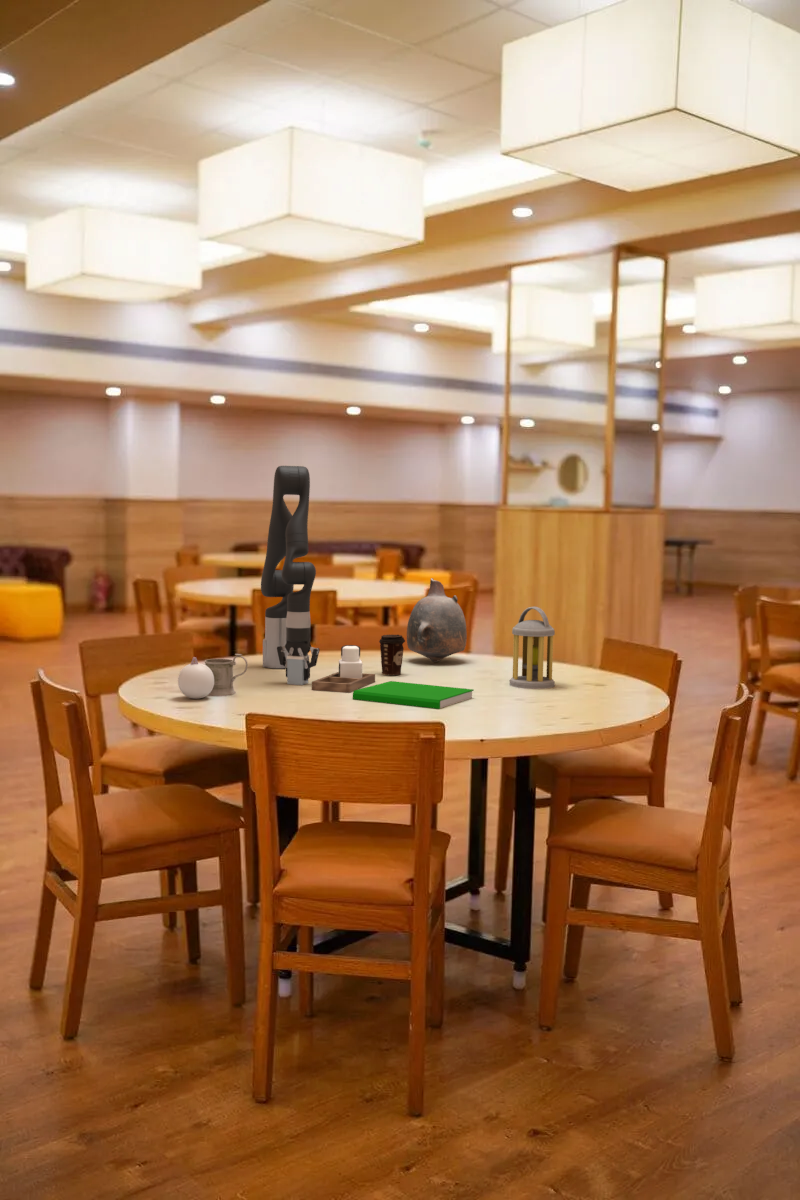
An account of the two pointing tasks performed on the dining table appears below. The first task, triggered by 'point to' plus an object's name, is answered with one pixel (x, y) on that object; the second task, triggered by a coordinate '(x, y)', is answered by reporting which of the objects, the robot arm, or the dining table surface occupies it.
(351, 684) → the brown flat rectangular frame
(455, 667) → the dining table surface
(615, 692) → the dining table surface
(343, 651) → the medicine bottle
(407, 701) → the book
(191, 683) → the ornament
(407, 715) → the dining table surface
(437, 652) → the jug
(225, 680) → the mug
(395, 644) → the coffee cup
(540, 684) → the lantern
